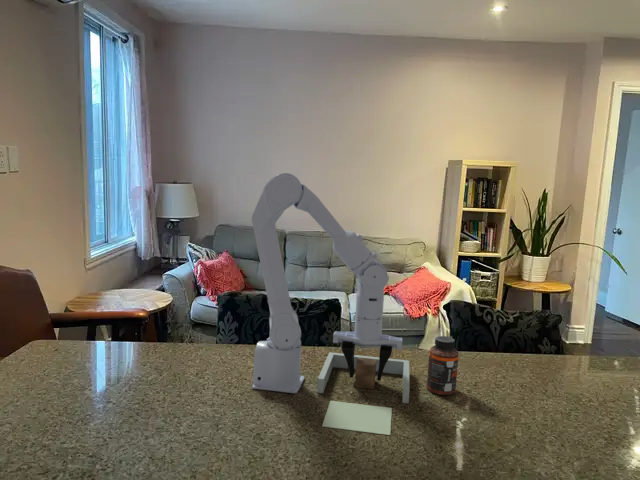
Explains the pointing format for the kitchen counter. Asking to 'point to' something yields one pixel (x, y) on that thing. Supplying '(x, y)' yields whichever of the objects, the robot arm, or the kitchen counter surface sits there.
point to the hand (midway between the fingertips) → (365, 377)
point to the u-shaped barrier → (340, 361)
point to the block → (365, 372)
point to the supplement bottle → (442, 366)
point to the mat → (358, 417)
